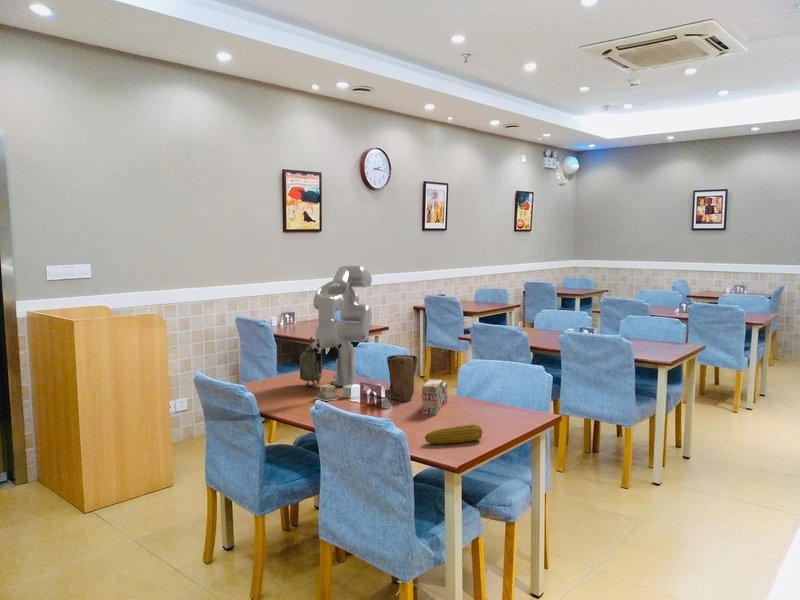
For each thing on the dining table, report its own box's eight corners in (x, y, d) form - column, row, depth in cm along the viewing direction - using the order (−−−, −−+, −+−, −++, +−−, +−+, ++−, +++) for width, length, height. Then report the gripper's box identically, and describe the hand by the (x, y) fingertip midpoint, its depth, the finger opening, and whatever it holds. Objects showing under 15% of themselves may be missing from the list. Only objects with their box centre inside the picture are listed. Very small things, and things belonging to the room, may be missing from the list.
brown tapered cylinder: (415, 399, 267) (415, 356, 266) (405, 402, 261) (405, 358, 260) (397, 395, 274) (397, 353, 272) (387, 399, 268) (386, 356, 266)
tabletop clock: (318, 389, 286) (317, 339, 284) (299, 389, 286) (298, 339, 284) (322, 383, 301) (321, 335, 299) (304, 383, 301) (303, 335, 299)
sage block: (342, 396, 273) (342, 386, 272) (351, 395, 276) (350, 384, 276) (349, 398, 269) (349, 388, 269) (357, 396, 272) (357, 386, 272)
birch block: (320, 396, 269) (320, 386, 268) (328, 394, 272) (328, 384, 272) (326, 398, 265) (326, 387, 265) (335, 396, 268) (335, 386, 268)
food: (477, 437, 213) (477, 421, 213) (483, 442, 208) (484, 426, 208) (422, 443, 208) (422, 426, 207) (428, 448, 202) (428, 431, 202)
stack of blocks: (434, 401, 264) (434, 374, 263) (447, 402, 262) (447, 375, 261) (422, 414, 244) (422, 385, 243) (436, 415, 242) (436, 386, 241)
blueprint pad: (315, 398, 269) (315, 395, 269) (329, 395, 274) (329, 392, 274) (325, 402, 263) (325, 398, 263) (339, 398, 268) (339, 395, 268)
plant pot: (382, 392, 281) (382, 359, 280) (392, 385, 295) (392, 354, 294) (412, 394, 277) (412, 361, 275) (421, 387, 291) (421, 355, 289)
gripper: (336, 320, 274) (337, 356, 276) (306, 324, 262) (306, 361, 264) (346, 322, 269) (347, 358, 270) (315, 325, 257) (316, 364, 258)
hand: (327, 360), depth 267 cm, fingers open, 9 cm apart
